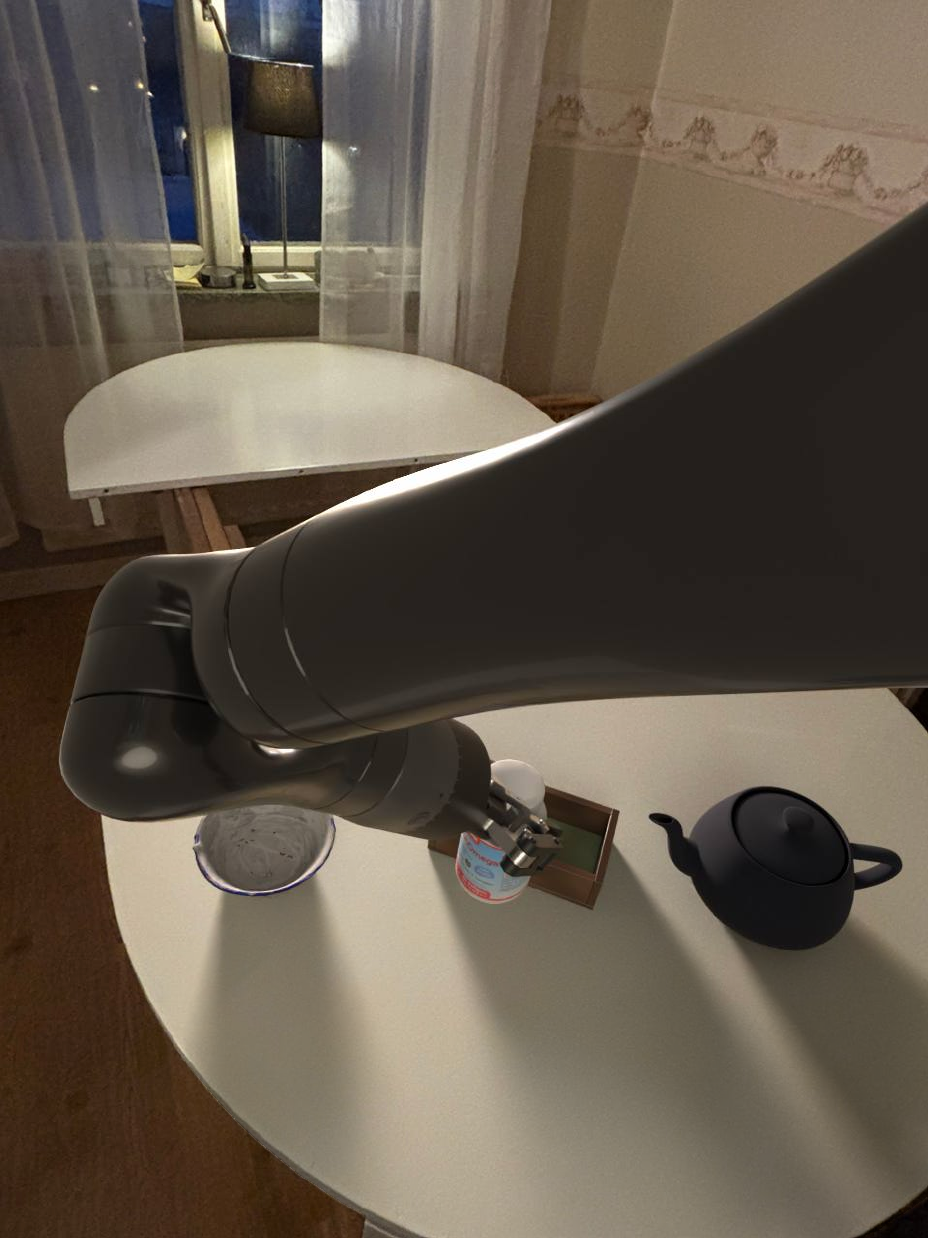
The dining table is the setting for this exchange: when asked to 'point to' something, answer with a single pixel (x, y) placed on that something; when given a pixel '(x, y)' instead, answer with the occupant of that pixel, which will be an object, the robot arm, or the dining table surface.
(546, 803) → the wooden compartment box
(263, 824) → the bowl
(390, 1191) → the dining table surface
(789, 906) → the teapot
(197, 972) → the dining table surface
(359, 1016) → the dining table surface
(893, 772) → the dining table surface
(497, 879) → the pill bottle
